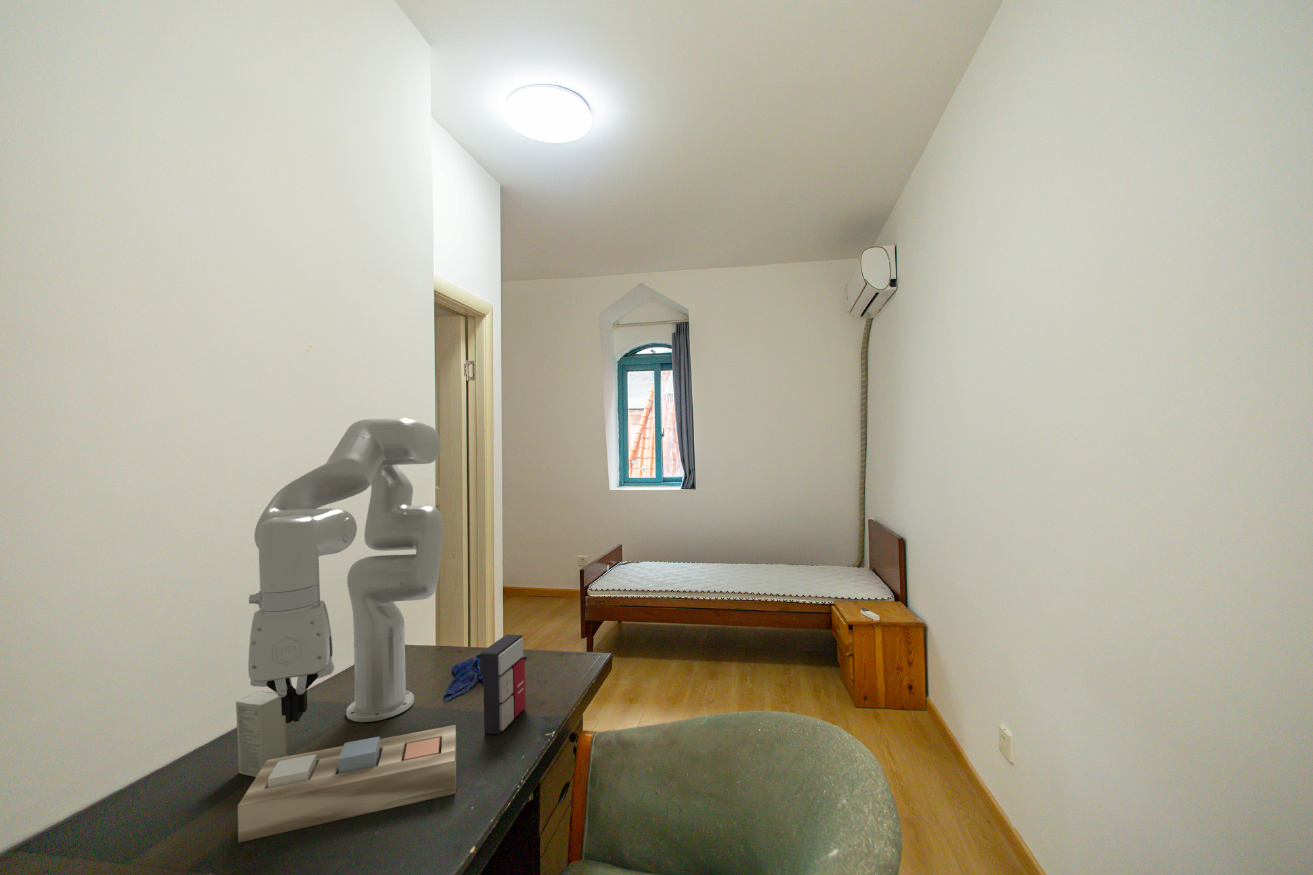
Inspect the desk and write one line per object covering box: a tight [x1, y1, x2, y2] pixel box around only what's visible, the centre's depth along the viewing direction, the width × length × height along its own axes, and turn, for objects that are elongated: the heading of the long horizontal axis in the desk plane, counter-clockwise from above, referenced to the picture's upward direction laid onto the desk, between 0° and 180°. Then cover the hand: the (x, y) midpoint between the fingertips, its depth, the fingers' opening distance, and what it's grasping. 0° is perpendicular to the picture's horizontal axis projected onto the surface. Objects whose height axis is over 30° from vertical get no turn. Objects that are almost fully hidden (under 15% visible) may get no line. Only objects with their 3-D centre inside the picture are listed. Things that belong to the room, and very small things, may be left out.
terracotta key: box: [404, 737, 440, 761], centre depth 88 cm, size 5×5×3 cm
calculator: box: [479, 634, 526, 735], centre depth 107 cm, size 11×4×15 cm, turn 168°
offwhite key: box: [268, 754, 316, 788], centre depth 82 cm, size 5×5×3 cm
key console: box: [237, 724, 457, 844], centre depth 85 cm, size 12×28×5 cm, turn 110°
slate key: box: [338, 736, 381, 774], centre depth 85 cm, size 5×5×3 cm
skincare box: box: [235, 690, 288, 778], centre depth 93 cm, size 6×4×12 cm
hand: (294, 717), depth 83 cm, fingers closed
